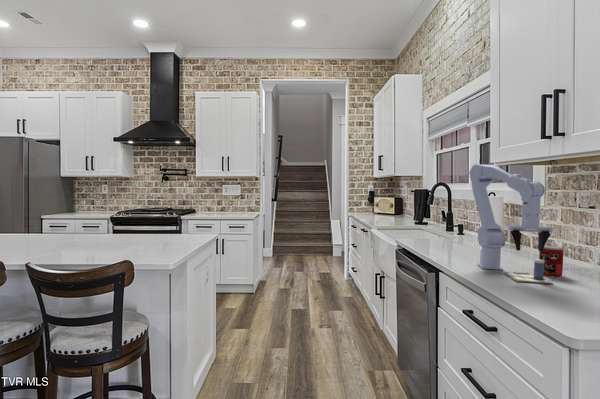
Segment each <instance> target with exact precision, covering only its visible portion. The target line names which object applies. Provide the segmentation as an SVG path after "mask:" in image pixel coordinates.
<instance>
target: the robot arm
mask: <svg viewBox="0 0 600 399" xmlns="http://www.w3.org/2000/svg"><path fill="white" fill-rule="evenodd" d="M468 174H469V178H470V182H471V191H472V193H473V198H474V201H475V204H476V209H477V213H478V218H479V221H480V226H479V227H478V228H477V242H478V243H479V245H480V247H481V248H480V252H479V253H480V254H479V263H477V266H478V267H479V268H481V269H483V270H498V271H502V270H503V271H504V268H503V267H501V258H502V257H501V254H502V253H501V252H502V248H503V245H505V243H506V242H507V240H506V239H507V237H506V233H505V232H504V231H503V229H502V226H500V225H499V224H498V223H496V220H495V216H494V212H493V208H492V205H491V201H490V198H489V194H488V189H487V187H488V186H490V185H491V184H492V182H494V180H495V179H498V180H500V181H503V182H505V183H506V186H507V187H509V188H510V189H511V190H514V191H516V192H517V193H519V195H520V197H521V198H520V199H521V202H522V209H521V211H522V213H521V225H513V224H512V225H511V224H510V225H508V226H507V230H508V231H509V232H510V234H511V237H512V239H513V241H514V244H515V250H516V251H521V238H522V235H523V233H522V232H531V233H532V232H534V233H537V234H538V236H537V237H538V248H537V249H538V252H543V249H544V246H545V245H546V244H547V241H548V240H549V238H550V237H551V233H552V234H553V233H554V227H552V226H542V225H541V226H540V220H541V219H540V218H541V198H542V197H543V196H544V194H545V190H546V188H545V186H544V184H543V183H541V182H540V181H537V182H536V181H535V182H534V181H533V180H532V179H531V178H526V177H525V176H524V177H523V174H522V173H514V174H511V173H510V172H507V171H505V170H503V169H502V168H500V167H499V166H498V165H496V164H479V163H474V164H473V165H472V166H471V168H470V170H469V173H468Z"/></svg>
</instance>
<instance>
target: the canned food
mask: <svg viewBox="0 0 600 399" xmlns="http://www.w3.org/2000/svg"><path fill="white" fill-rule="evenodd" d="M538 252H539V256H538V257H539V258H538V259H541V260H544V275H543V276H545V277H552V276H553V277H554V278H555V277H556V278H558V277H562V275H563V272H564V271H563V268H564V247H562V246H557V245H547V244H545V246H544V249H543V252H540V251H538ZM553 277H552V278H553Z"/></svg>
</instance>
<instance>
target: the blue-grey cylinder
mask: <svg viewBox="0 0 600 399" xmlns="http://www.w3.org/2000/svg"><path fill="white" fill-rule="evenodd" d="M533 261H534V262H533V266H534V267H533V275H534V279H537V280H543V278H544V276H545V275H544V260H541V259H539V258H536V259H535V258H534V260H533Z"/></svg>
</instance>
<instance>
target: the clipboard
mask: <svg viewBox="0 0 600 399" xmlns="http://www.w3.org/2000/svg"><path fill="white" fill-rule="evenodd" d="M503 275H505V277H508V278H509V279H510V280H512V281H514V282H515V283H521V284H522V283H523V284H537V285H538V284H539V285H554V282H552V281H550V280H548V279H546V278H544V277H543V280H537V279H534V274H531V273H529V272H523V271H513V272H512V273H511V272H503Z"/></svg>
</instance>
